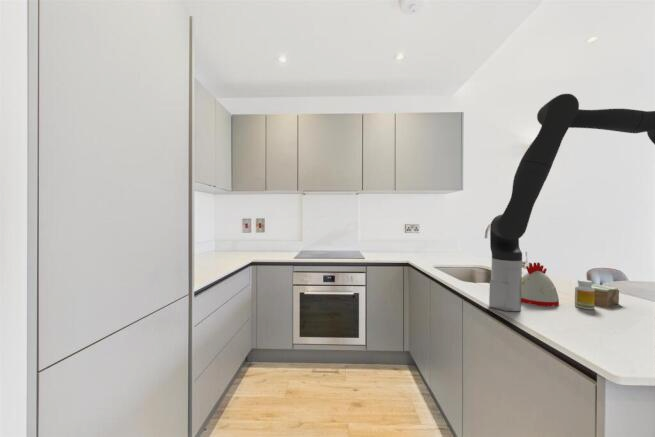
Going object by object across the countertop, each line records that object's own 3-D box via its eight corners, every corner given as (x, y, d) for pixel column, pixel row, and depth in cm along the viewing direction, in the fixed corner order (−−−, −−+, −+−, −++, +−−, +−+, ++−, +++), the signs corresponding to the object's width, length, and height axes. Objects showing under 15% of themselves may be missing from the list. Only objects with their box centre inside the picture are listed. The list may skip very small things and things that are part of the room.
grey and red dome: (506, 296, 121) (507, 259, 121) (537, 296, 122) (538, 260, 122) (534, 306, 107) (534, 265, 107) (568, 306, 109) (569, 265, 108)
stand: (607, 306, 109) (607, 290, 109) (577, 300, 117) (578, 285, 117) (618, 304, 112) (619, 288, 112) (589, 298, 121) (589, 283, 121)
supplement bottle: (598, 310, 104) (598, 282, 104) (580, 309, 105) (581, 281, 105) (588, 305, 109) (588, 279, 109) (571, 304, 111) (571, 278, 110)
